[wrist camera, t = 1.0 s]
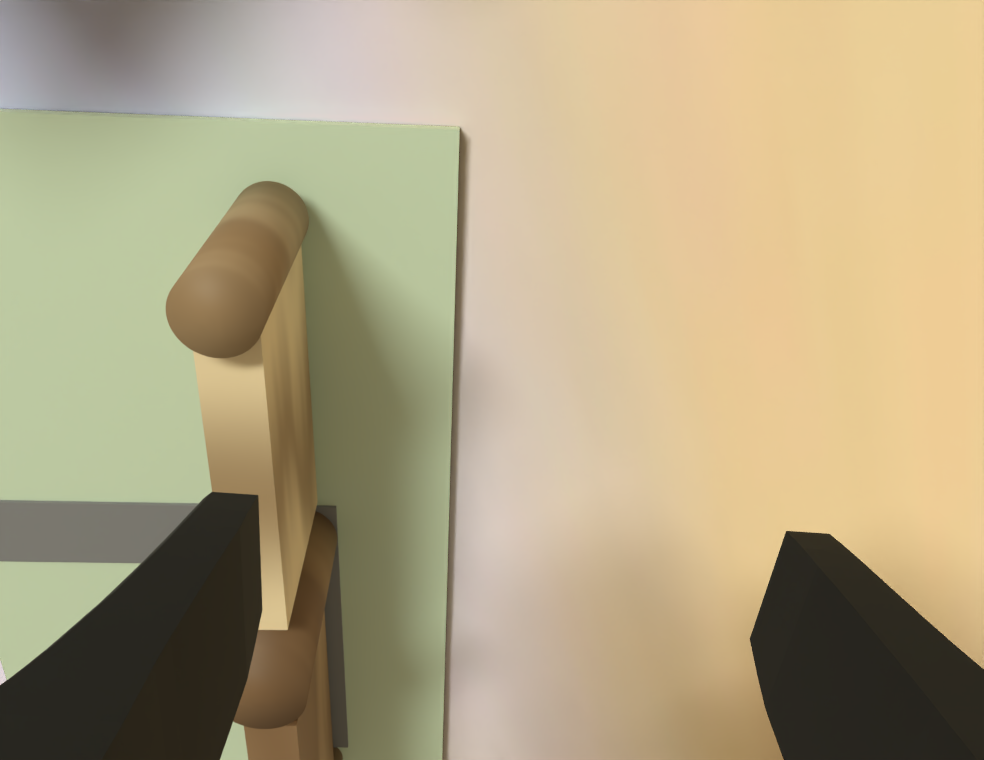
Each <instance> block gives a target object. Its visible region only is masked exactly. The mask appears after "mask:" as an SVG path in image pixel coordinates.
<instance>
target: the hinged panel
mask: <svg viewBox="0 0 984 760" xmlns="http://www.w3.org/2000/svg"><path fill="white" fill-rule="evenodd" d="M308 226H309V215H308V210H307V208H306V205H305V203H304V202H303V200H302V199H301V197H300V196H299V195H298V194H297V193H296V192H295V191H294V190H293V189H291V188H289V187H288V186H286V185H284V184H281V183H278V182H274V181H261V182H257V183H254V184H252V185H250V186H248V187H247V188H245V189H244V190H243V191H242V192H241V193H240V195H239V196H238V197H237V199H236V200H235V202H234V203H233V204H232V206H231V207H230V208H229V210H228V211H227V213H226V214H225V215H224V217H223V218H222V219H221V221H220V222H219V224H218V225H217V226H216V228H215V229H214V230H213V232H212V233H211V235H210V236H209V237H208V239H207V240H206V242H205V243H204V244H203V246H202V247H201V248H200V250H199V251H198V253H197V254H196V255H195V257H194V258H193V259H192V261H191V262H190V264H189V265H188V266H187V268H186V269H185V270H184V272H183V273H182V275H181V276H180V277H179V279H178V280H177V282H176V283H175V284H174V286H173V287H172V289H171V290H170V292H169V294H168V297H167V301H166V317H167V321H168V323H169V326H170V328H171V330H172V332H173V333H174V334H175V336H176V337H177V338H178V339H179V340H180V341H181V342H182V343H183V344H184V345H185V346H186V347H188V348H189V349H191V350H193V354H194V362H195V369H196V376H197V384H198V391H199V399H200V406H201V413H202V421H203V428H204V436H205V443H206V450H207V458H208V465H209V473H210V480H211V487H212V492H222V493H237V494H252V495H258V498H259V526H260V554H261V583H262V614H261V619H260V624H259V629H258V630H288V627H289V622H290V618H291V614H292V610H293V605H294V601H295V597H296V592H297V588H298V584H299V579H300V575H301V571H302V567H303V562H304V558H305V554H306V549H307V545H308V541H309V536H310V532H311V528H312V524H313V519H314V515H315V511H316V506H317V502H318V500H317V484H316V469H315V453H314V437H313V421H312V405H311V390H310V374H309V358H308V342H307V326H306V310H305V295H304V279H303V263H302V247H301V244H302V242H303V240H304V238H305V235H306V233H307V230H308Z"/></svg>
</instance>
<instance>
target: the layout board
mask: <svg viewBox="0 0 984 760" xmlns="http://www.w3.org/2000/svg"><path fill="white" fill-rule="evenodd" d="M459 134H460V127H455V126H429V125H403V124H378V123H352V122H326V121H301V120H275V119H250V118H224V117H198V116H173V115H147V114H122V113H96V112H70V111H45V110H19V109H0V660H1V663H2V666H3V670H4V673H5V676H6V679H7V680H8V679H9V678H11V677H12V676H13V675H14V674H16V673H17V672H18V671H20V670H21V669H22V668H23V667H25V666H26V665H27V664H29V663H30V662H31V661H32V660H33V659H35V658H36V657H37V656H38V655H40V654H41V653H42V652H43V651H45V650H46V649H47V648H48V647H49V646H51V645H52V644H53V643H54V642H55V641H57V640H58V639H59V638H60V637H61V636H62V635H63V634H65V633H66V632H67V631H68V630H69V629H70V628H71V627H73V626H74V625H75V624H76V623H77V622H78V621H79V620H81V619H82V618H83V617H84V616H85V615H86V614H88V613H89V612H90V611H91V610H92V609H93V608H94V607H96V606H97V605H98V604H99V603H100V602H101V601H102V600H103V599H104V598H105V597H107V596H108V595H109V594H110V593H111V592H112V591H113V590H114V589H115V588H116V587H117V586H118V585H119V584H120V583H121V582H122V581H123V580H124V579H125V578H126V577H127V576H128V575H129V574H130V573H132V572H133V571H134V570H135V569H136V568H137V567H138V566H139V565H140V564H141V563H142V562H143V561H144V560H145V559H146V558H147V557H148V556H149V555H150V554H151V553H152V552H153V551H154V550H155V549H156V548H157V547H158V546H159V545H160V544H161V543H162V542H163V541H164V540H165V539H166V538H167V537H168V536H169V535H170V533H171V532H172V531H173V530H174V529H175V528H176V527H177V526H178V525H179V524H180V523H181V522H182V521H183V520H184V519H185V518H186V517H187V516H188V514H189V513H190V512H191V511H192V510H193V509H194V508H195V507H196V506H197V505H198V504H199V503H200V502H201V501H202V499H203V498H205V497H206V496H207V495H208V494H210V493H211V492H212V487H211V480H210V473H209V465H208V458H207V450H206V443H205V436H204V428H203V421H202V413H201V406H200V399H199V391H198V384H197V376H196V369H195V362H194V354H193V350H191V349H189V348H188V347H186V346H185V345H184V344H183V343H182V342H181V341H180V340H179V339H178V338H177V337H176V336H175V334H174V333H173V332H172V330H171V328H170V326H169V323H168V321H167V317H166V301H167V297H168V294H169V292H170V290H171V289H172V287H173V286H174V284H175V283H176V282H177V280H178V279H179V277H180V276H181V275H182V273H183V272H184V270H185V269H186V268H187V266H188V265H189V264H190V262H191V261H192V259H193V258H194V257H195V255H196V254H197V253H198V251H199V250H200V248H201V247H202V246H203V244H204V243H205V242H206V240H207V239H208V237H209V236H210V235H211V233H212V232H213V230H214V229H215V228H216V226H217V225H218V224H219V222H220V221H221V219H222V218H223V217H224V215H225V214H226V213H227V211H228V210H229V208H230V207H231V206H232V204H233V203H234V202H235V200H236V199H237V197H238V196H239V195H240V193H241V192H242V191H243V190H244V189H245V188H247V187H248V186H250V185H252V184H254V183H257V182H261V181H274V182H278V183H281V184H284V185H286V186H288V187H289V188H291V189H293V190H294V191H295V192H296V193H297V194H298V195H299V196H300V197H301V199H302V200H303V202H304V203H305V205H306V208H307V210H308V215H309V226H308V230H307V233H306V235H305V238H304V240H303V242H302V244H301V247H302V263H303V279H304V295H305V310H306V326H307V342H308V358H309V374H310V390H311V405H312V421H313V437H314V453H315V469H316V484H317V500H318V502H317V506H316V511H317V512H319V513H321V514H322V515H324V516H325V517H326V518H327V519H329V520H330V522H331V523H332V524H333V526H334V527H335V529H336V532H337V545H336V551H335V556H334V561H333V567H332V572H331V577H330V583H329V588H328V593H327V599H326V604H325V609H324V611H325V627H326V643H327V658H328V674H329V690H330V706H331V722H332V738H333V747H337V748H338V749H339V750H340V751H341V753H342V755H343V760H442V749H443V713H444V677H445V641H446V604H447V568H448V532H449V496H450V460H451V423H452V387H453V351H454V315H455V279H456V242H457V206H458V170H459ZM220 760H248V754H247V747H246V739H245V732H244V726H242V725H240V724H237V723H235V722H233V723H232V726H231V729H230V732H229V735H228V738H227V741H226V744H225V747H224V749H223V752H222V755H221V758H220Z"/></svg>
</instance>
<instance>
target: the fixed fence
mask: <svg viewBox="0 0 984 760" xmlns="http://www.w3.org/2000/svg"><path fill="white" fill-rule="evenodd" d="M336 545H337V532H336V529H335V527H334V526H333V524H332V523H331V522H330V520H329V519H327V518H326V517H325V516H324V515H322V514H321V513H319V512H317V511H315V515H314V519H313V524H312V528H311V532H310V536H309V541H308V545H307V549H306V554H305V558H304V562H303V567H302V571H301V575H300V579H299V584H298V588H297V592H296V597H295V601H294V605H293V610H292V614H291V618H290V622H289V627H288V630H258V633H257V638H256V643H255V648H254V652H253V657H252V661H251V665H250V670H249V674H248V679H247V682H246V685H245V688H244V691H243V694H242V697H241V700H240V703H239V706H238V709H237V712H236V715H235V718H234V720H233V722H235V723H237V724H240V725H242V726H244V732H245V739H246V747H247V754H248V760H343V755H342V753H341V751H340V750H339V749H338V748H337V747H333V738H332V722H331V706H330V690H329V674H328V658H327V643H326V627H325V611H324V609H325V604H326V599H327V593H328V588H329V583H330V577H331V572H332V567H333V561H334V556H335V551H336Z"/></svg>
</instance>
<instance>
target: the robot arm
mask: <svg viewBox="0 0 984 760" xmlns="http://www.w3.org/2000/svg"><path fill="white" fill-rule="evenodd" d="M261 614H262V583H261V554H260V526H259V498H258V495H252V494H237V493H222V492H211V493H210V494H208V495H207V496H206V497H205V498H203V499H202V501H201V502H200V503H199V504H198V505H197V506H196V507H195V508H194V509H193V510H192V511H191V512H190V513H189V514H188V516H187V517H186V518H185V519H184V520H183V521H182V522H181V523H180V524H179V525H178V526H177V527H176V528H175V529H174V530H173V531H172V532H171V533H170V535H169V536H168V537H167V538H166V539H165V540H164V541H163V542H162V543H161V544H160V545H159V546H158V547H157V548H156V549H155V550H154V551H153V552H152V553H151V554H150V555H149V556H148V557H147V558H146V559H145V560H144V561H143V562H142V563H141V564H140V565H139V566H138V567H137V568H136V569H135V570H134V571H133V572H132V573H130V574H129V575H128V576H127V577H126V578H125V579H124V580H123V581H122V582H121V583H120V584H119V585H118V586H117V587H116V588H115V589H114V590H113V591H112V592H111V593H110V594H109V595H108V596H107V597H105V598H104V599H103V600H102V601H101V602H100V603H99V604H98V605H97V606H96V607H94V608H93V609H92V610H91V611H90V612H89V613H88V614H86V615H85V616H84V617H83V618H82V619H81V620H79V621H78V622H77V623H76V624H75V625H74V626H73V627H71V628H70V629H69V630H68V631H67V632H66V633H65V634H63V635H62V636H61V637H60V638H59V639H58V640H57V641H55V642H54V643H53V644H52V645H51V646H49V647H48V648H47V649H46V650H45V651H43V652H42V653H41V654H40V655H38V656H37V657H36V658H35V659H33V660H32V661H31V662H30V663H29V664H27V665H26V666H25V667H23V668H22V669H21V670H20V671H18V672H17V673H16V674H14V675H13V676H12V677H11V678H9V679H8V680H7V681H5V682H4V683H3V684H1V685H0V760H220V758H221V755H222V752H223V749H224V747H225V744H226V741H227V738H228V735H229V732H230V729H231V726H232V723H233V720H234V718H235V715H236V712H237V709H238V706H239V703H240V700H241V697H242V694H243V691H244V688H245V685H246V682H247V679H248V674H249V670H250V665H251V661H252V657H253V652H254V648H255V643H256V638H257V633H258V629H259V624H260V619H261ZM750 642H751V647H752V651H753V656H754V661H755V666H756V670H757V675H758V680H759V684H760V688H761V692H762V696H763V700H764V704H765V708H766V711H767V714H768V717H769V720H770V723H771V726H772V728H773V731H774V734H775V737H776V739H777V742H778V745H779V748H780V750H781V753H782V756H783V759H784V760H984V669H982V668H981V667H980V666H979V665H978V664H977V663H975V662H974V661H973V660H972V659H971V658H969V657H968V656H967V655H966V654H965V653H964V652H962V651H961V650H960V649H959V648H958V647H957V646H955V645H954V644H953V643H952V642H951V641H950V640H948V639H947V638H946V637H945V636H944V635H943V634H942V633H940V632H939V631H938V630H937V629H936V628H935V627H934V626H933V625H931V624H930V623H929V622H928V621H927V620H926V619H925V618H923V617H922V616H921V615H920V614H919V613H918V612H917V611H916V610H915V609H913V608H912V607H911V606H910V605H909V604H908V603H907V602H906V601H905V600H903V599H902V598H901V597H900V596H899V595H898V594H897V593H896V592H895V591H894V590H892V589H891V588H890V587H889V586H888V585H887V584H886V583H885V582H884V581H883V580H881V579H880V578H879V577H878V576H877V575H876V574H875V573H874V572H873V571H872V570H870V569H869V568H868V567H867V566H866V565H865V564H864V563H863V562H862V561H860V560H859V559H858V558H857V557H856V556H855V555H854V554H853V553H851V552H850V551H849V550H848V549H847V548H846V547H844V546H843V545H842V544H841V543H840V542H839V541H837V540H836V539H835V538H834V537H832V536H831V535H830V534H822V533H808V532H793V531H786V534H785V537H784V539H783V542H782V545H781V548H780V551H779V554H778V557H777V560H776V563H775V566H774V569H773V572H772V575H771V578H770V581H769V584H768V587H767V590H766V593H765V596H764V599H763V602H762V605H761V607H760V610H759V613H758V616H757V619H756V622H755V625H754V628H753V631H752V634H751V637H750Z"/></svg>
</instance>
